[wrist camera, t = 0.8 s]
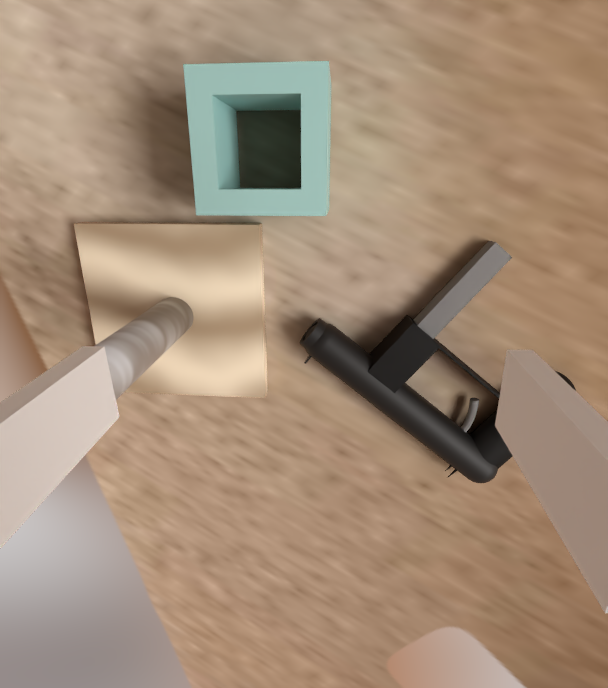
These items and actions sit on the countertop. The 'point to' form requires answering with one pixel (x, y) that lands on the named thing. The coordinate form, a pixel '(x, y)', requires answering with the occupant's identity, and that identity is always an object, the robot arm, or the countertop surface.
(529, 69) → the countertop surface
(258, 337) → the peg stand
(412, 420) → the black toy gun
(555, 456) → the robot arm
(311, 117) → the collar
